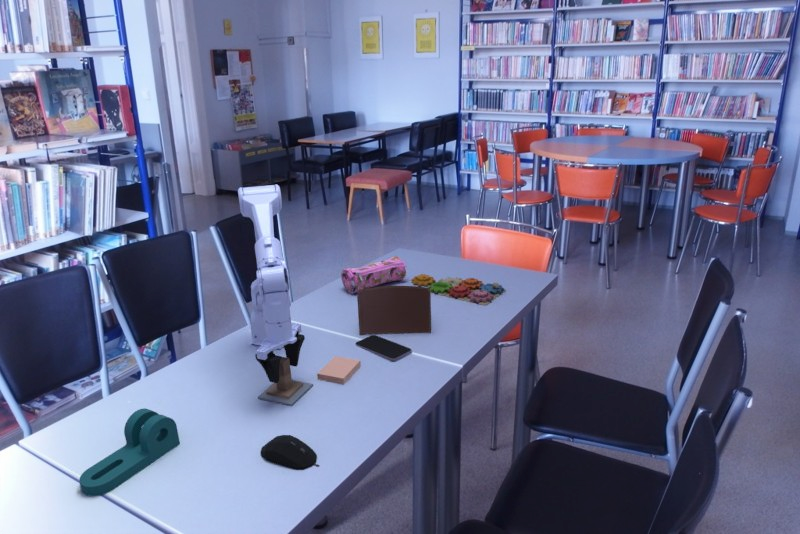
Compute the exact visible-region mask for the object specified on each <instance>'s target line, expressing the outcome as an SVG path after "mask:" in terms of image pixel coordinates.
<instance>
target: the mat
mask: <svg viewBox="0 0 800 534" xmlns="http://www.w3.org/2000/svg"><path fill="white" fill-rule="evenodd" d="M292 381H296V382H301V383H303V387H302V388H300V389H299V390H298V391H297V392H296V393H295V394H294V395H293V396H292V397H291V398H290V399H285V398H280V397H276V396H271V395H267V394H266V391H267V390H268V389H269V388H270V387H272V386H273V385H274V384H275V383H274V382H272V384H271V385H269V386H268V387H267V388H266V389H264V391H263V392H261V393H260V394H259V395H257V399H258V400H262V401H267V402H271V403H276V404H281V405H284V406H289V407H293V406H294V405H295V404H296V403H297V402H298V401H300V399H301V398H302V397H303V396H304V395H306V393H307V392H308V391H309V390H310V389H312V387H314V383H309V382H305V381H300V380H295V379H292Z"/></svg>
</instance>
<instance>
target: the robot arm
mask: <svg viewBox="0 0 800 534" xmlns="http://www.w3.org/2000/svg"><path fill="white" fill-rule="evenodd" d="M237 194H238V202H239V203H238V204H239V210H240V211H239V212H240V213H241V215H242V217H244V218H245V217H246V218H249V219H250V220H251V221H252V222H253V226H254V227H253V228H254V237H255V243H254V253H255V258H256V259H255V260H256V268H257V270H256V274H255V275H256V279H255V280H254V281H252V283H251V285H250V289H251V290H250V294H251V303H252V309H253V311H252V312H251V315H250V319H249V323H250V324H249V325H250V330H251V338H252V341H250V344H251V345H256V346H260V347H258V349H257V350H256V353H255V355H254V356H255V360H256V361H257V363H259V364H260V366H261V367H262V369H263V370H264V372H265V373H266V376H267V379H268V381H269V382H271V383H278V382H279V365H280V360H281V358H282V357H283V356H282V355H277V354H276V353H274V351H275V350H281V349H282V348H283V349H284V352H285V356H286V358H289V360H290V367H295V368H296V367H297V366H298V365H299V360H300V359H299V358H300V352H301V348H302V346H303V344H304V341H305V340H306V339H305V335H304V334H302V333H301V332H302V323H298V322H293V323H292V317H291V306H292V301H291V293H290V292H291V291H290V288H291V287H290V286H291V285H290V284H291V283H290V275H289V270H288V266H287V265H286V264H287V263H286V260H285V259H284V254H283V249H282V243H281V241H280V240H279V239H278V238H276V237H275V232H274V231H275V230H274V216H275V215H277V214H280V212H281V210H282V208H283V200H282V192H281V187H280V185H278V184H270V185H258V186H247V187H246V186H245V187H239V188H238V189H237Z"/></svg>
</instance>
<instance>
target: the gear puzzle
mask: <svg viewBox="0 0 800 534" xmlns="http://www.w3.org/2000/svg"><path fill="white" fill-rule="evenodd" d="M411 282H412V284H413V285H417V286H418V287H426V288H429V289H430V292H431V294H433V293H435V294H437V295H438V296H441V297H446V298H450V299H453V298H457V300H459V301H463V302H466V303H467V302H468V303H471V304H473V303H474V302H475V303H478V305H480V306H484V307H485V306H488V305H489V304H490V302H492V301H494V300H495V299H497V298H498V297H500V296H501V294H504V293H506V290H507V289H506V288H504V287H503V286H502V284H499V283H498V282H493V283H486V284H484V282H483V281H482V280H478V278H475V277H469V278H465V279H462V278H461V277H447V278H445V279H443V278H440V279H439V280H438V281H436V279H435V278H434V276H430V275H429V274H418V275H416V276H413V278H411ZM427 286H428V287H427Z"/></svg>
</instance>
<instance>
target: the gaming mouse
mask: <svg viewBox="0 0 800 534" xmlns="http://www.w3.org/2000/svg"><path fill="white" fill-rule="evenodd" d="M260 456H261V458H263V459H264V460H265V461H267V462H269V463H271V464H275V465H278V466H281V467H283V468H284V467H285V468H288V469H290V470H295V471H304V470H306V469H308V468H310V467H313V466H314V467H316V468H319V467H320V465H319V464H317V463H316V462H317V460H318V456H317V453H316V451H314V449H313V448H311V447H310V446H309V445H308V444H307V443H306V442H304V441H302V440H300V438H297V437H295V436H293V435H291V434H289V435H288V434H282V435H277V436H275V437H274V438H272V439H270V440H269V441H268V442H267V443H265V444H264V445H263V446H262V447H261V449H260Z"/></svg>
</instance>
